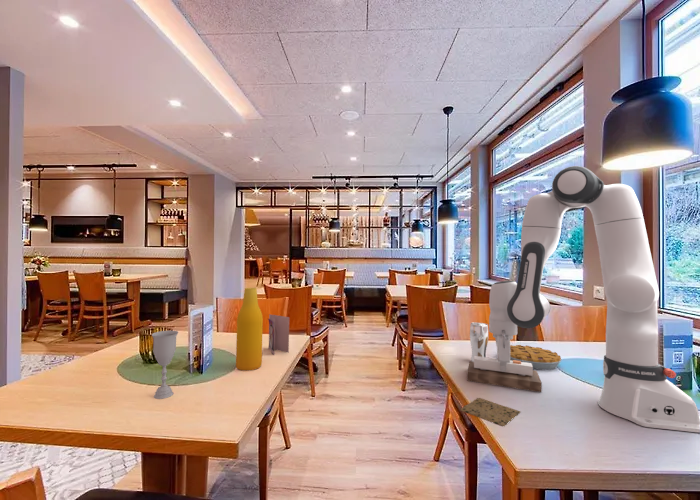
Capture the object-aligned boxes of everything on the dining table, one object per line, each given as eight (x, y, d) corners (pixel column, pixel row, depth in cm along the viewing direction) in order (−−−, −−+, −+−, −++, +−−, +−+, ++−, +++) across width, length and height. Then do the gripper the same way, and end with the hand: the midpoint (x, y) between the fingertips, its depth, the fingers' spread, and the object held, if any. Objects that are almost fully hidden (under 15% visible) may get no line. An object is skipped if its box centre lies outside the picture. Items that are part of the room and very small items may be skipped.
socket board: (536, 379, 114) (536, 370, 114) (541, 392, 103) (541, 382, 103) (469, 369, 123) (469, 361, 123) (467, 380, 112) (467, 371, 112)
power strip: (531, 379, 111) (531, 361, 111) (532, 383, 108) (532, 364, 108) (474, 371, 118) (474, 354, 118) (473, 374, 115) (474, 357, 115)
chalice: (152, 391, 98) (154, 331, 99) (178, 388, 101) (179, 329, 101) (147, 402, 92) (149, 337, 92) (174, 398, 94) (176, 335, 94)
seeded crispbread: (521, 413, 90) (521, 409, 90) (504, 428, 82) (504, 424, 82) (479, 398, 99) (479, 395, 99) (459, 411, 90) (459, 408, 90)
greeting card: (266, 348, 145) (267, 314, 145) (283, 346, 148) (284, 313, 149) (271, 355, 135) (272, 319, 135) (289, 353, 138) (290, 318, 138)
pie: (572, 373, 121) (572, 360, 121) (509, 369, 124) (509, 356, 125) (547, 355, 142) (547, 344, 143) (493, 352, 146) (493, 341, 146)
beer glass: (484, 359, 136) (485, 322, 136) (490, 364, 129) (490, 326, 129) (467, 358, 136) (468, 322, 137) (472, 363, 129) (472, 325, 130)
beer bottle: (230, 369, 118) (232, 288, 119) (244, 361, 127) (246, 286, 128) (253, 372, 116) (255, 289, 116) (266, 363, 125) (268, 287, 125)
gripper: (515, 335, 102) (515, 379, 102) (511, 323, 121) (511, 360, 121) (493, 333, 105) (493, 376, 105) (492, 321, 124) (492, 358, 123)
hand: (502, 368), depth 113 cm, fingers closed on power strip, 4 cm apart
